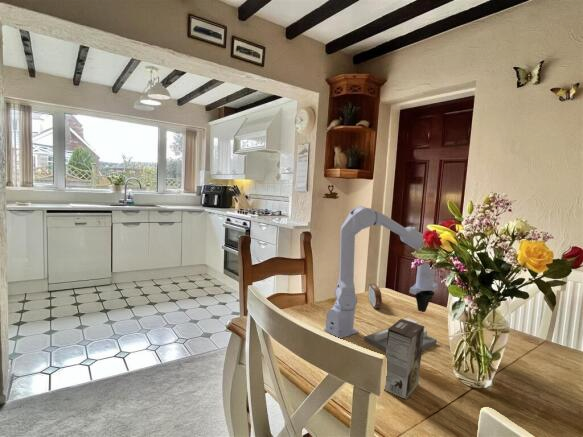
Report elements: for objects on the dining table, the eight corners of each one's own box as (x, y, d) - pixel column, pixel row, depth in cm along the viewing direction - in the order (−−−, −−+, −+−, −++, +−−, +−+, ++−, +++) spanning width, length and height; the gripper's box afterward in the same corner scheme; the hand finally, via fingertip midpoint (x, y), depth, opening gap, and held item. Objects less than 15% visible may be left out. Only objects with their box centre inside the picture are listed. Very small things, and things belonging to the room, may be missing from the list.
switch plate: (400, 360, 98) (402, 348, 98) (364, 340, 109) (365, 330, 109) (436, 344, 111) (437, 334, 110) (400, 328, 122) (401, 318, 121)
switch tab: (409, 339, 109) (411, 325, 108) (397, 334, 113) (399, 320, 112) (418, 336, 112) (419, 322, 111) (406, 330, 116) (407, 317, 115)
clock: (381, 311, 137) (383, 291, 136) (373, 311, 137) (375, 291, 137) (373, 299, 152) (375, 281, 151) (366, 298, 152) (368, 280, 152)
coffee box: (395, 374, 90) (401, 317, 89) (418, 384, 86) (425, 325, 85) (381, 389, 83) (387, 327, 82) (406, 401, 79) (413, 336, 78)
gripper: (425, 278, 107) (420, 319, 108) (447, 273, 116) (443, 311, 117) (405, 273, 112) (401, 311, 114) (428, 268, 121) (425, 304, 123)
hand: (421, 311), depth 116 cm, fingers closed
